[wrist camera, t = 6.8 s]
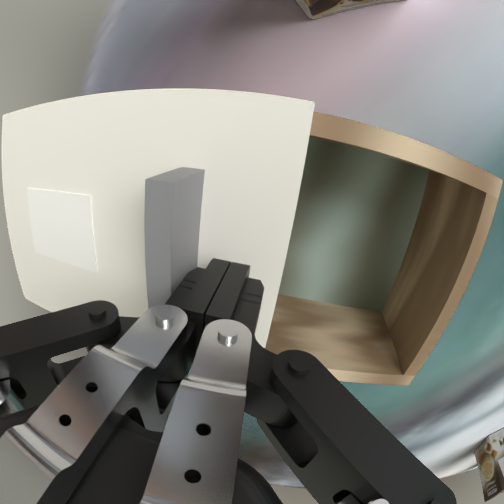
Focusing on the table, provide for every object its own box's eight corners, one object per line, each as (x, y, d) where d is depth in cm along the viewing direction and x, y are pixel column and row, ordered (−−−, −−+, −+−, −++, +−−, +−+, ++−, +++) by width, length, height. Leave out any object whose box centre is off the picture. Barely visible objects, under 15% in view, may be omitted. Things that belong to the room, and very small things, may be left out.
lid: (314, 103, 9) (322, 88, 6) (258, 374, 16) (248, 422, 12) (8, 114, 11) (-30, 120, 8) (29, 294, 17) (2, 316, 14)
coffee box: (487, 435, 30) (502, 490, 16) (507, 425, 29) (524, 477, 14) (473, 452, 33) (484, 502, 19) (492, 443, 32) (505, 491, 17)
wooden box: (438, 160, 16) (502, 180, 9) (385, 317, 22) (408, 385, 15) (185, 108, 18) (122, 98, 10) (174, 276, 24) (129, 333, 16)
